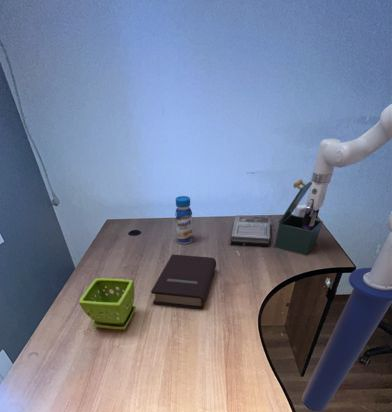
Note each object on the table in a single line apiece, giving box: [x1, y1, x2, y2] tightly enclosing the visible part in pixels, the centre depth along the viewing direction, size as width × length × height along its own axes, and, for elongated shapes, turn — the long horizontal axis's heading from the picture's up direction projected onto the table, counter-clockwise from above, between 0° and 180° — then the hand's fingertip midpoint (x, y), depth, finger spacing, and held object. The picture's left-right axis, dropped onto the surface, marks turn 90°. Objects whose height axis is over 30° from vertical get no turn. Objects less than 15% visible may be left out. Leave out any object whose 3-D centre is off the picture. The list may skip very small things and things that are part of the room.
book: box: [150, 254, 217, 310], centre depth 105 cm, size 28×20×6 cm
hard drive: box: [230, 214, 271, 248], centre depth 138 cm, size 18×27×4 cm
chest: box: [274, 214, 323, 256], centre depth 126 cm, size 16×14×11 cm
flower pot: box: [78, 277, 137, 331], centre depth 89 cm, size 14×14×13 cm
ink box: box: [293, 204, 306, 217], centre depth 138 cm, size 8×5×12 cm, turn 105°
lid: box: [278, 179, 312, 224], centre depth 118 cm, size 16×14×5 cm
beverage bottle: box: [174, 195, 194, 245], centre depth 129 cm, size 8×8×20 cm
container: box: [302, 211, 317, 231], centre depth 122 cm, size 5×5×15 cm
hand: (309, 221), depth 120 cm, fingers open, 9 cm apart
